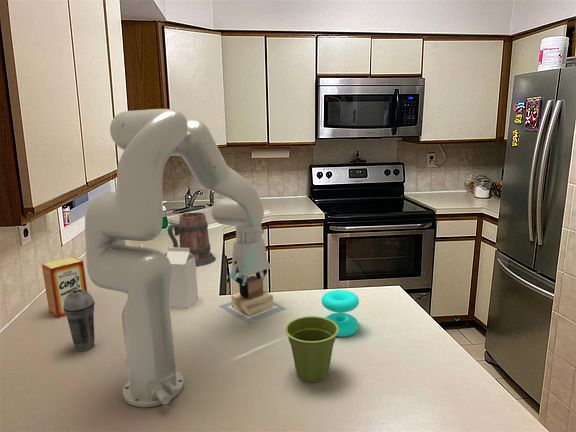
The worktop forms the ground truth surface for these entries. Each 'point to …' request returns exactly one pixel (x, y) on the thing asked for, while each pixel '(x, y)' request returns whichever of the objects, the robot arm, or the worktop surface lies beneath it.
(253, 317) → the board
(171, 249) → the milk carton
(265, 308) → the maple slab
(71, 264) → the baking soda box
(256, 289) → the walnut block
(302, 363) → the plant pot
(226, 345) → the worktop surface
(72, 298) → the beverage cup
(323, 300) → the donuts
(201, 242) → the tankard
